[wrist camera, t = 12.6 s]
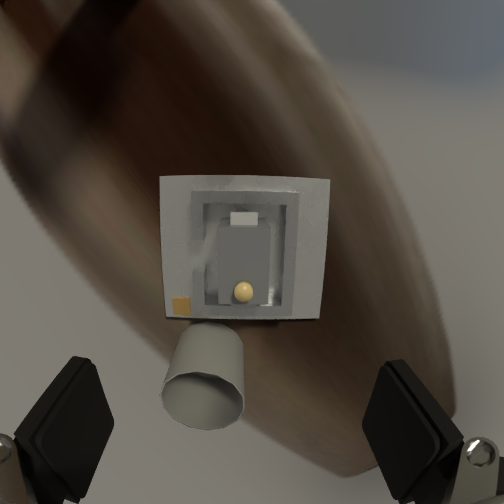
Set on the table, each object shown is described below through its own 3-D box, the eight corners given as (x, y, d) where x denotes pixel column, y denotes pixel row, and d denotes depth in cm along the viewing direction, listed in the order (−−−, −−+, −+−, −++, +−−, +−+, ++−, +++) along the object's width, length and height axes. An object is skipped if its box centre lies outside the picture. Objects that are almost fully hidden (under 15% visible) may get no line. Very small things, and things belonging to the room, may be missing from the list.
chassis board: (161, 176, 30) (153, 175, 27) (327, 179, 30) (337, 179, 27) (167, 313, 33) (161, 326, 30) (317, 315, 34) (323, 327, 31)
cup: (249, 328, 34) (253, 379, 25) (237, 380, 36) (237, 434, 26) (180, 315, 34) (161, 362, 24) (175, 368, 35) (159, 420, 26)
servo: (222, 207, 30) (216, 215, 23) (265, 208, 30) (272, 216, 23) (222, 291, 32) (218, 319, 25) (263, 291, 32) (268, 320, 26)
